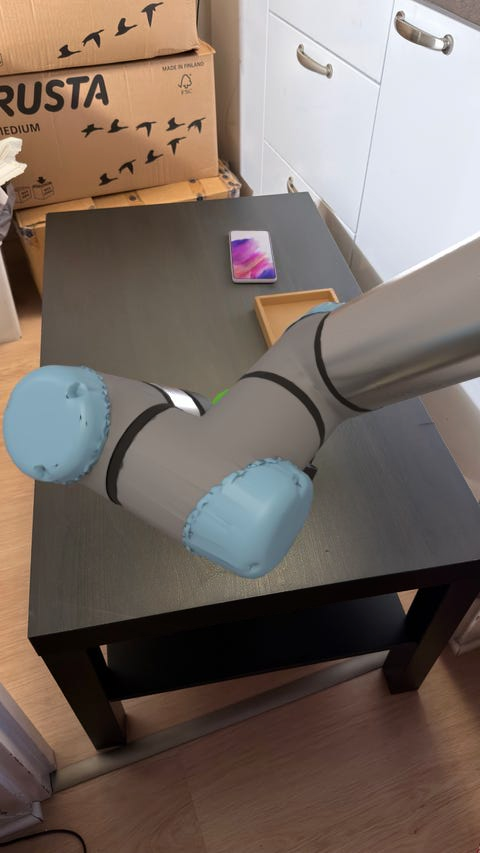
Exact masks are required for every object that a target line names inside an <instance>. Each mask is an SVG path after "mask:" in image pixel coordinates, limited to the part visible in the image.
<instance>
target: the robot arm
mask: <svg viewBox="0 0 480 853" xmlns="http://www.w3.org/2000/svg"><path fill="white" fill-rule="evenodd" d="M478 378H480V231H478V232H476V233H475V234H473V235H471V236H469V237H467V238H465V239H463V240H462V241H459V242H458V243H455V244H454V245H452V246H450V247H448V248H446V249H444V250H442V251H441V252H439V253H437V254H435V255H434V256H431V257H429V258H428V259H426V260H424V261H421V262H420V263H418V264H416V265H414V266H412V267H411V268H408V269H407V270H405V271H403V272H401V273H399V274H397V275H396V276H394V277H392V278H390V279H388V280H386V281H384V282H382V283H380V284H379V285H376V286H375V287H373V288H371V289H369V290H367V291H365V292H364V293H362V294H360V295H358V296H356V297H353V298H352V299H351V300H348V301H347V302H340V303H335V302H326V303H322V304H319V305H317V306H315V307H313V308H312V309H311V310H309V311H308V312H307V313H306V314H305V315H303V316H302V317H300V318H299V319H297V320H296V321H295V322H293V323H292V324H291V325H289V326H288V327H287V328H286V329H285V331H284V333H283V334H282V336H281V337H280V338H279V339H278V340H277V341H276V342H275V344H274V345H273V346H272V347H271V348H270V349H267V350H266V351H265V353H264V354H263V355H262V356H261V357H260V358H259V359H258V360H257V361H255V363H254V364H253V365H252V366H251V367H250V368H249V369H248V370H247V371H246V372H245V373H244V374H243V375H242V376H241V377H240V378H239V379H238V380H237V381H236V382H234V384H233V385H232V386H231V387H229V388H230V389H229V388H228V389H229V390H228V391H227V392H226V393H225V394H224V395H223V396H222V397H221V398H220V399H219V400H218V401H217V402H216V403H215V404H213V403H212V401H211V400H210V399H209V398H208V397H207V396H205V395H203V394H201V393H199V392H195V391H191V390H187V389H182V388H177V387H175V386H171V385H170V386H169V385H165V384H159V383H154V382H149V381H143V380H136V379H132V378H126V377H123V376H118V375H114V374H110V373H105V372H101V371H97V370H94V369H92V368H90V367H88V366H84V365H81V366H73V365H72V366H71V365H62V364H61V365H60V364H49V365H48V364H47V365H43V366H40V367H38V368H34V369H33V370H31V371H29V372H28V373H27V374H26V375H24V376H23V377H22V378H21V379H20V380H19V381H17V383H16V385H14V387H13V389H12V390H11V392H10V396H9V398H8V400H7V404H6V406H5V407H4V410H3V415H2V416H3V417H2V438H3V443H4V446H5V450H6V452H7V455H8V456H9V458H10V460H11V461H12V463H13V464H14V465H15V467H16V468H17V469H18V470H19V471H20V472H21V473H22V474H24V475H25V476H27V477H29V478H31V479H33V480H36V481H40V482H43V483H45V482H46V483H53V484H56V485H61V486H62V485H63V486H66V485H71V484H74V483H77V484H80V485H83V486H85V487H86V488H88V489H90V490H91V491H93V492H95V493H96V494H98V495H99V496H101V497H103V498H104V499H106V500H108V501H109V502H111V503H113V504H115V505H117V506H120V507H122V508H123V509H125V510H126V511H128V512H129V513H131V514H133V515H134V516H136V517H137V518H139V519H140V520H142V521H143V522H145V523H147V524H149V525H150V526H151V527H153V528H155V529H157V530H158V531H160V532H161V533H163V534H164V535H166V536H167V537H169V538H171V539H172V540H174V541H175V542H177V543H179V544H180V545H181V546H183V547H185V549H186V550H187V551H188V552H190V553H191V554H193V555H194V556H197V557H200V558H204V559H206V560H208V561H210V562H212V563H214V564H215V565H217V566H219V567H221V568H223V569H224V570H227V571H229V572H231V573H233V574H235V575H236V576H238V577H240V578H243V579H247V580H256V579H260V578H262V577H264V576H266V575H268V574H269V573H271V572H273V570H275V569H276V568H277V567H278V566H279V565H280V564H281V562H282V561H283V560H284V559H285V557H286V556H287V555H288V554H289V552H290V550H291V549H292V547H293V545H294V543H295V541H296V538H297V536H298V535H299V534H300V533H301V532H302V529H303V527H304V525H305V523H306V521H307V519H308V516H309V513H310V512H311V507H312V504H313V497H314V485H313V480H314V478H315V477H316V475H317V473H318V470H319V468H318V467H317V466H316V465H314V464H312V463H313V462H314V459H315V458H316V455H317V453H318V452H319V451H320V449H322V447H323V446H324V444H325V443H326V442H327V441H328V439H329V438H330V437H331V436H332V434H333V433H334V432H335V431H336V429H337V428H338V427H339V426H340V425H342V424H343V423H344V422H346V421H347V420H350V419H353V418H356V417H360V416H363V415H365V414H369V413H371V412H374V411H377V410H380V409H382V408H384V407H388V406H391V405H395V404H397V403H400V402H404V401H407V400H410V399H413V398H417V397H420V396H423V395H426V394H429V393H432V392H437V391H439V390H443V389H446V388H449V387H453V386H455V385H458V384H463V383H464V382H468V381H471V380H474V379H478Z"/></svg>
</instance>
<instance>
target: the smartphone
mask: <svg viewBox="0 0 480 853" xmlns="http://www.w3.org/2000/svg"><path fill="white" fill-rule="evenodd" d="M228 244H229V253H230V254H229V257H230V258H229V260H230V272H231V280H232V282H233V283H235V284H252V283H253V284H257V283H258V284H259V283H260V284H262V283H263V284H264V283H265V284H266V283H267V284H268V283H270V284H273V283H276V282H277V279H278V277H277V271H276V270H277V269H276V264H275V258H274V252H273V244H272V239H271V233H270V231H269V230H267V229H230V230H229V231H228Z"/></svg>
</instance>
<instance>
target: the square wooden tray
mask: <svg viewBox="0 0 480 853" xmlns="http://www.w3.org/2000/svg"><path fill="white" fill-rule="evenodd" d="M326 302H335V303H341V301H340V300H339V298H338V296H337V295H336V292H335V290H334V289H333V288H332V287H329V288H321V289H312V290H303V291H302V290H301V291H295V292H294V291H293V292H285V293H283V292H282V293H276V294H275V293H274V294H265V295H258V296H254V306H253V308H254V312H255V316H256V317H257V321H258V324H259V326H260V330H261V332H262V334H263V338H264V340H265V343H266V347H267V350H269V349H270V348H271V347H272V346H273V345H274V344H275V342H276V341H277V340H278V339H279V338H280V337H281V336H282V334H283V333H284V331H285V329H286V328H287V327H288V326H289V325H291V324H292V323H293V322H295V321H296V320H297V319H299V318H300V317H302V316H303V315H305V314H306V313H307V312H308V311H309V310H311V309H312V308H313V307H315V306H317V305H319V304H322V303H326Z"/></svg>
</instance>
